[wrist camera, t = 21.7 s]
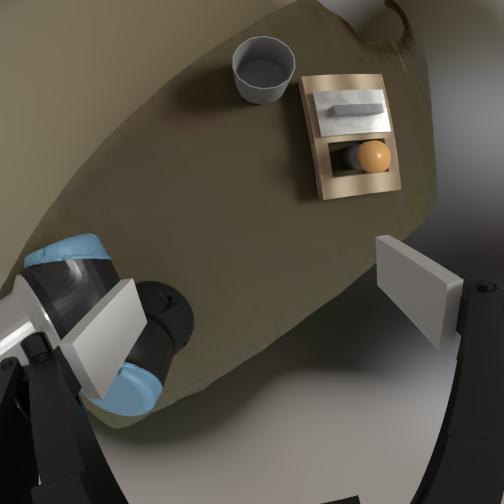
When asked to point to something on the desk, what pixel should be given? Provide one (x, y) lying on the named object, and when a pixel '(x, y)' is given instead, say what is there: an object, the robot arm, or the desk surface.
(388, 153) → the orange grey cylinder
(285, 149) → the desk surface
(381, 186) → the socket board
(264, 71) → the cup
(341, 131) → the shutter
